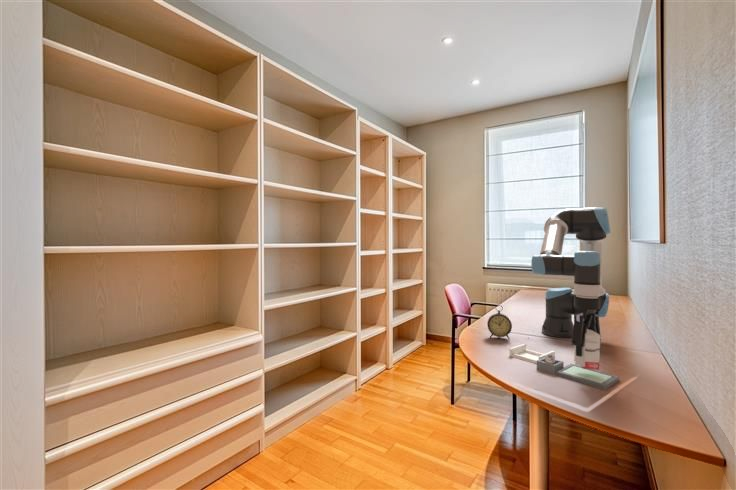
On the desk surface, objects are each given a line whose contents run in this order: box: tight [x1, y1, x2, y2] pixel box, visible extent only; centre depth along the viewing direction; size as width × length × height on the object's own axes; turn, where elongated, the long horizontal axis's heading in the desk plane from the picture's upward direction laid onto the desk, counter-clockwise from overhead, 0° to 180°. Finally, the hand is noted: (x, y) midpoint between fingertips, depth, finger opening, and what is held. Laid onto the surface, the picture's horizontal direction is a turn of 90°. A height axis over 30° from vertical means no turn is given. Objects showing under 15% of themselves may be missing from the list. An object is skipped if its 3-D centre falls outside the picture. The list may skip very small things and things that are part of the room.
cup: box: [536, 357, 565, 375], centre depth 124 cm, size 6×6×4 cm
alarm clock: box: [487, 304, 513, 340], centre depth 167 cm, size 11×5×16 cm, turn 73°
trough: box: [509, 343, 556, 365], centre depth 136 cm, size 11×13×4 cm
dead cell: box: [545, 355, 556, 365], centre depth 124 cm, size 3×3×5 cm
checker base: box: [554, 363, 620, 391], centre depth 116 cm, size 12×15×2 cm
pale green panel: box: [562, 366, 612, 384], centre depth 116 cm, size 9×12×1 cm
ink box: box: [573, 329, 601, 371], centre depth 116 cm, size 9×5×12 cm, turn 168°
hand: (586, 362), depth 116 cm, fingers closed on ink box, 9 cm apart
